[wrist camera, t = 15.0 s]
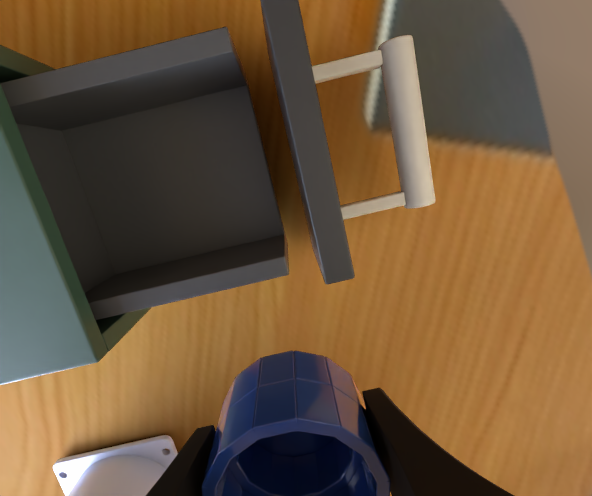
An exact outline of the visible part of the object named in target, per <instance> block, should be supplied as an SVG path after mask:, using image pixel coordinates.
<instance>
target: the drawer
mask: <svg viewBox="0 0 592 496" xmlns="http://www.w3.org/2000/svg"><path fill="white" fill-rule="evenodd" d="M260 1H261V8H262V15H263V22H264V29H265V36H266V43H267V50H268V56H269V60H270V65H271V69H272V73H273V78H274V82H275V86H276V91H277V95H278V99H279V104H280V108H281V112H282V117H283V121H284V125H285V130H286V134H287V138H288V143H289V147H290V151H291V156H292V160H293V164H294V169H295V173H296V178H297V182H298V186H299V191H300V195H301V199H302V204H303V208H304V212H305V217H306V221H307V225H308V230H309V234H310V238H311V243H312V247H313V251H314V253H315V256H316V259H317V262H318V265H319V267H320V270H321V273H322V276H323V279H324V281H325V283H326V284H331V283H336V282H340V281H344V280H349V279H353V278H354V276H355V275H354V270H353V265H352V260H351V256H350V251H349V246H348V241H347V236H346V231H345V226H344V221H343V220H344V219H349V218H353V217H357V216H361V215H365V214H370V213H374V212H378V211H382V210H386V209H391V208H395V207H399V206H403V205H404V207H405V208H419V207H425V206H428V205H431V204H433V203H435V193H434V186H433V179H432V172H431V165H430V158H429V151H428V143H427V136H426V129H425V122H424V115H423V108H422V100H421V93H420V86H419V79H418V72H417V65H416V57H415V50H414V43H413V37H412V36H411V35H402V36H398V37H395V38H392V39H390V40H388V41H386V42H384V43H382V44H381V45H380V46H379V48H378V50H375V51H371V52H367V53H363V54H359V55H355V56H351V57H347V58H343V59H339V60H335V61H331V62H327V63H323V64H319V65H315V66H312V65H311V60H310V55H309V50H308V46H307V41H306V36H305V31H304V26H303V21H302V16H301V11H300V6H299V2H298V0H260ZM380 67H381V69H382V75H383V81H384V87H385V94H386V100H387V106H388V112H389V118H390V125H391V131H392V137H393V143H394V149H395V155H396V162H397V168H398V174H399V180H400V186H401V192H395V193H391V194H387V195H382V196H378V197H374V198H370V199H366V200H362V201H357V202H353V203H349V204H345V205H341V206H340V202H339V197H338V192H337V187H336V182H335V177H334V173H333V168H332V163H331V158H330V153H329V148H328V143H327V138H326V133H325V129H324V124H323V119H322V114H321V109H320V104H319V99H318V94H317V89H316V85H315V84H316V83H321V82H325V81H329V80H333V79H337V78H341V77H345V76H349V75H353V74H357V73H361V72H365V71H369V70H373V69H377V68H380ZM0 84H1V87H2V89H3V91H4V94H5V96H6V99H7V101H8V104H9V106H10V109H11V111H12V114H13V116H14V119H15V121H16V124H17V126H18V129H19V131H20V134H21V136H22V139H23V141H24V144H25V146H26V149H27V151H28V154H29V156H30V159H31V161H32V164H33V166H34V169H35V171H36V174H37V176H38V179H39V181H40V184H41V186H42V188H43V191H44V193H45V196H46V198H47V201H48V203H49V206H50V208H51V211H52V213H53V216H54V218H55V221H56V223H57V226H58V228H59V231H60V233H61V236H62V238H63V241H64V243H65V246H66V248H67V251H68V253H69V256H70V258H71V261H72V263H73V266H74V268H75V271H76V273H77V276H78V278H79V280H80V283H81V285H82V288H83V290H84V293H85V295H86V298H87V300H88V303H89V305H90V308H91V310H92V313H93V315H94V318H95V320H99V319H103V318H107V317H111V316H116V315H120V314H124V313H128V312H133V311H137V310H141V309H145V308H150V307H154V306H158V305H162V304H167V303H171V302H175V301H179V300H184V299H188V298H192V297H196V296H201V295H205V294H209V293H213V292H218V291H222V290H226V289H230V288H235V287H239V286H243V285H247V284H252V283H256V282H260V281H264V280H269V279H273V278H277V277H281V276H286V275H288V274H289V263H288V243H287V239H286V235H285V231H284V227H283V223H282V219H281V215H280V211H279V207H278V203H277V199H276V195H275V191H274V187H273V183H272V179H271V175H270V171H269V166H268V162H267V158H266V154H265V150H264V146H263V142H262V138H261V134H260V130H259V126H258V122H257V118H256V114H255V110H254V106H253V102H252V98H251V94H250V89H249V85H248V81H247V77H246V73H245V71H244V68H243V66H242V63H241V61H240V58H239V56H238V53H237V51H236V48H235V46H234V43H233V41H232V38H231V36H230V33H229V31H228V28H227V27H223V28H219V29H215V30H211V31H207V32H203V33H199V34H195V35H191V36H187V37H183V38H179V39H175V40H171V41H167V42H163V43H159V44H155V45H151V46H147V47H143V48H139V49H135V50H131V51H127V52H123V53H119V54H115V55H111V56H107V57H103V58H99V59H95V60H91V61H87V62H84V63H80V64H76V65H72V66H68V67H64V68H60V69H56V70H52V71H48V72H44V73H40V74H36V75H32V76H28V77H24V78H20V79H16V80H12V81H8V82H4V83H0Z"/></svg>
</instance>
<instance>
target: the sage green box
mask: <svg viewBox="0 0 592 496" xmlns="http://www.w3.org/2000/svg"><path fill="white" fill-rule="evenodd" d="M52 70H56V69H54V68H52V67H50V66H47V65H45V64H43V63H41V62H38V61H36V60H34V59H32V58H29V57H27V56H25V55H22V54H20V53H18V52H16V51H13V50H11V49H9V48H7V47H4V46H2V45H0V83H4V82H8V81H12V80H16V79H20V78H24V77H28V76H32V75H36V74H40V73H44V72H48V71H52ZM150 308H151V307H150ZM150 308H145V309H141V310H137V311H133V312H128V313H124V314H120V315H116V316H111V317H107V318H103V319H99V320H95V318H94V315H93V313H92V310H91V308H90V305H89V303H88V300H87V298H86V295H85V293H84V290H83V288H82V285H81V283H80V280H79V278H78V276H77V273H76V271H75V268H74V266H73V263H72V261H71V258H70V256H69V253H68V251H67V248H66V246H65V243H64V241H63V238H62V236H61V233H60V231H59V228H58V226H57V223H56V221H55V218H54V216H53V213H52V211H51V208H50V206H49V203H48V201H47V198H46V196H45V193H44V191H43V188H42V186H41V184H40V181H39V179H38V176H37V174H36V171H35V169H34V166H33V164H32V161H31V159H30V156H29V154H28V151H27V149H26V146H25V144H24V141H23V139H22V136H21V134H20V131H19V129H18V126H17V124H16V121H15V119H14V116H13V114H12V111H11V109H10V106H9V104H8V101H7V99H6V96H5V94H4V91H3V89H2V87H1V84H0V385H2V384H6V383H11V382H15V381H19V380H23V379H28V378H32V377H36V376H41V375H45V374H49V373H54V372H58V371H62V370H66V369H71V368H75V367H79V366H84V365H88V364H92V363H97V362H99V361H100V360H101V359H102V358H103V357H104V356H105V354H106V353H107V352H108V351H110V350H111V349H112V348H113V347H114V346H115V345H116V344H117V343H118V341H119V340H120V339H121V338H122V337H123V336H124V335H125V334H126V333H127V332H128V331H129V330H130V329H131V328H132V327H133V326H134V325H135V324H136V323H137V322H138V321H139V320H140V319H141V318H142V317H143V316H144V315H145V314H146V313H147V312H148V310H149V309H150Z"/></svg>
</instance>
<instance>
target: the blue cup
mask: <svg viewBox="0 0 592 496" xmlns="http://www.w3.org/2000/svg"><path fill="white" fill-rule="evenodd" d="M390 484H391V480H390V476H389V473H388V470H387V467H386V464H385V461H384V459H383V456H382V453H381V450H380V447H379V444H378V442H377V439H376V437H375V434H374V432H373V429H372V426H371V423H370V420H369V417H368V414H367V411H366V407H365V404H364V401H363V398H362V396H361V394H360V392H359V390H358V388H357V386H356V384H355V382H354V380H353V378H352V376H351V375H350V374H349V373H348V372H347V371H346V370H344V369H343V368H341V367H340V366H339V365H337V364H336V363H334V362H333V361H332V360H330V359H329V358H327V357H324V356H322V355H316V354H311V353H306V352H300V351H294V352H293V351H287V352H283V353H278V354H274V355H270V356H265V357H263V358H260V359H258V360H257V361H256V362H254V363H253V364H252V365H250V366H249V367H248V368H246V369H245V370H244V371H242V372H241V373H240V374H238V375H237V376H236V377H235V379H234V381H233V383H232V385H231V387H230V389H229V392H228V394H227V396H226V398H225V400H224V402H223V406H222V410H221V414H220V417H219V421H218V425H217V429H216V433H215V437H214V440H213V444H212V448H211V452H210V456H209V459H208V463H207V467H206V471H205V475H204V479H203V482H202V496H390Z"/></svg>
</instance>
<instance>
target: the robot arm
mask: <svg viewBox="0 0 592 496" xmlns="http://www.w3.org/2000/svg"><path fill="white" fill-rule="evenodd" d="M362 393H363V397H364V402H365V407H366V411H367V414H368V417H369V420H370V423H371V426H372V429H373V432H374V434H375V437H376V439H377V442H378V444H379V447H380V450H381V453H382V456H383V459H384V461H385V464H386V467H387V470H388V473H389V476H390V480H391V484H390V492H391V494H392V496H514V495H512V494H510V493H508V492H507V491H505V490H503V489H502V488H500V487H498V486H497V485H495V484H493V483H492V482H490V481H488V480H487V479H485V478H483V477H482V476H480V475H479V474H477V473H476V472H474V471H473V470H471V469H470V468H468V467H467V466H465V465H464V464H463V463H461V462H460V461H459V460H457V459H456V458H454V457H453V456H452V455H450V454H449V453H448V452H446V451H445V450H444V449H443V448H441V447H440V446H439V445H438V444H437V443H435V442H434V441H433V440H432V439H431V438H429V437H428V436H427V435H426V434H425V433H424V432H423V431H421V430H420V429H419V428H418V427H417V426H416V425H415V424H414V423H413V422H412V421H411V420H410V419H409V418H408V417H407V416H406V415H405V414H404V413H403V412H402V411H401V410H400V409H399V408H398V407H397V406H396V405H395V404H394V403H393V402H392V401H391V399H390V398H389V397H388V396H387V395H386V393H385V392H384V391H383V390H382V389H381V388H376V389H371V390H367V391H362ZM215 433H216V431H215V428H214V425H210V426H206V427H201V428H197V429H196V430H195V432H194V433H193V434H192V435H191V437H190V438H189V439H188V441H187V442H186V444H185V445H184V446H183V448H182V449H181V450H180V452H179V453H177V450H176V447H175V445H174V442H173V440H172V438H171V437H170V436H167V435H162V436H157V437H153V438H149V439H144V440H140V441H135V442H131V443H127V444H122V445H118V446H113V447H109V448H105V449H100V450H96V451H91V452H87V453H83V454H78V455H74V456H69V457H65V458H61V459H58V460H57V461H56V463H55V464H54V465H53V470H54V472H55V474H56V476H57V478H58V480H59V482H60V485H61V487H62V489H63V491H64V493H65V495H66V496H202V482H203V479H204V475H205V471H206V467H207V463H208V459H209V456H210V452H211V448H212V444H213V440H214V437H215ZM165 449H169V450H165Z"/></svg>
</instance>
